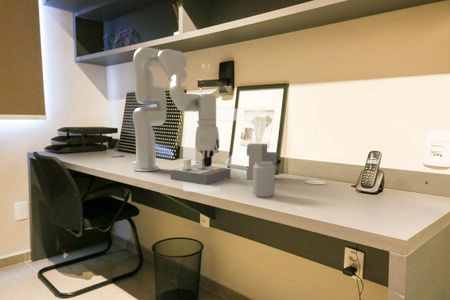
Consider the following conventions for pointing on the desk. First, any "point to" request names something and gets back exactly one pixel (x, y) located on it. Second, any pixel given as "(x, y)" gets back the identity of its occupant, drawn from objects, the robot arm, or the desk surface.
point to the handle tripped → (201, 163)
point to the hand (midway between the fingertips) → (207, 165)
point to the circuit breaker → (259, 157)
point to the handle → (187, 164)
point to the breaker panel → (201, 174)
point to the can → (263, 179)
